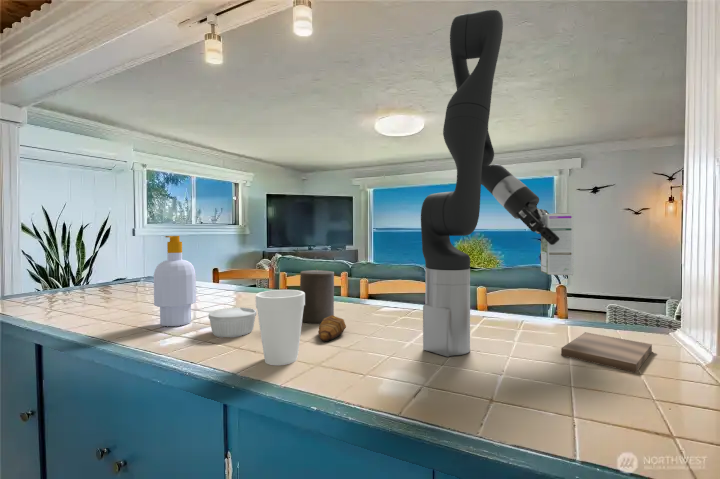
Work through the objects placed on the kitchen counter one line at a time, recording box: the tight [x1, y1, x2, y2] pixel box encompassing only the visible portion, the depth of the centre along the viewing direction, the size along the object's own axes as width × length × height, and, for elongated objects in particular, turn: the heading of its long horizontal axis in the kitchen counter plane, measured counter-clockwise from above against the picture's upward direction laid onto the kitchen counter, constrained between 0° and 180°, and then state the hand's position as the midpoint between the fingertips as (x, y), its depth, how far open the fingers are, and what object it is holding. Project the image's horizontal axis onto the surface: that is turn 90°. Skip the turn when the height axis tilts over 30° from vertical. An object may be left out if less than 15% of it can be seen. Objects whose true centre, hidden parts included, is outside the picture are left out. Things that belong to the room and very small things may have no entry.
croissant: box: [317, 315, 347, 342], centre depth 86 cm, size 14×7×5 cm, turn 167°
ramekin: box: [207, 307, 257, 338], centre depth 89 cm, size 11×11×5 cm
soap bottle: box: [153, 235, 197, 328], centre depth 97 cm, size 10×10×24 cm
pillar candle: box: [299, 266, 335, 325], centre depth 101 cm, size 10×10×15 cm
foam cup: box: [255, 289, 305, 366], centre depth 69 cm, size 10×9×13 cm
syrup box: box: [540, 212, 574, 276], centre depth 85 cm, size 6×6×14 cm
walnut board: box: [560, 331, 653, 374], centre depth 72 cm, size 16×12×2 cm
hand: (562, 241), depth 84 cm, fingers closed on syrup box, 8 cm apart
